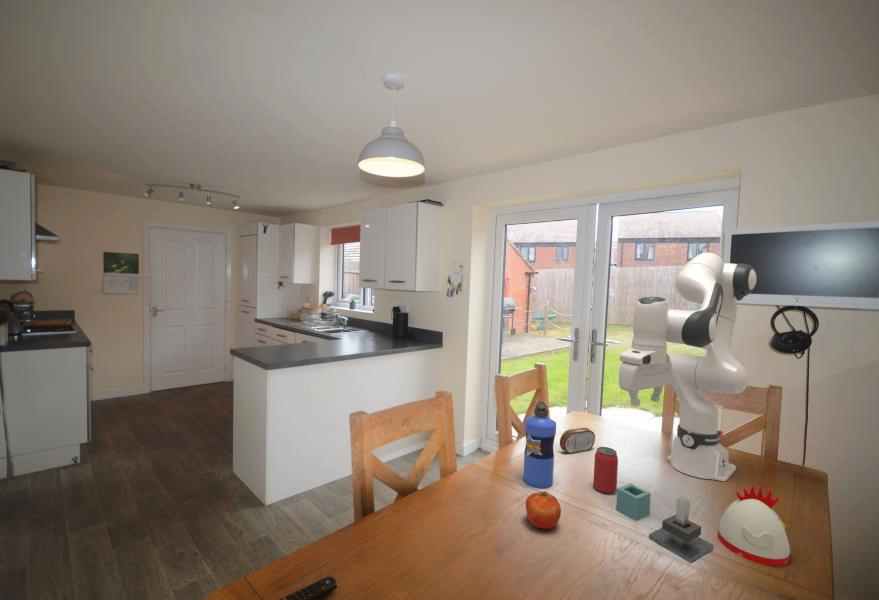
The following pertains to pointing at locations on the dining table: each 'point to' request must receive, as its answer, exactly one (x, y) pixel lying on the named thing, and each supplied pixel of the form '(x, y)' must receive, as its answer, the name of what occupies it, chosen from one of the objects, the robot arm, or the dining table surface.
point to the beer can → (605, 470)
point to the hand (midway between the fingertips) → (645, 403)
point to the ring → (681, 529)
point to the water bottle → (539, 448)
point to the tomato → (543, 510)
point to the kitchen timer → (755, 529)
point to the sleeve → (633, 501)
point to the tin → (577, 440)
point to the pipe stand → (677, 545)
